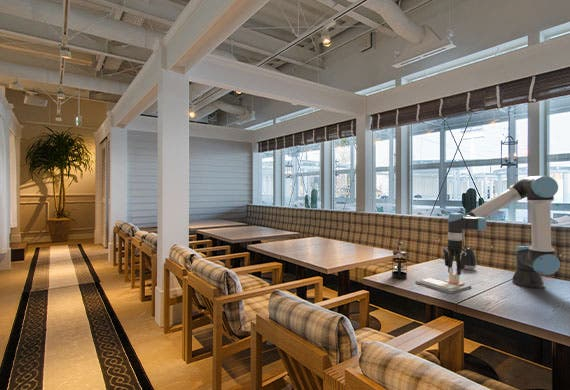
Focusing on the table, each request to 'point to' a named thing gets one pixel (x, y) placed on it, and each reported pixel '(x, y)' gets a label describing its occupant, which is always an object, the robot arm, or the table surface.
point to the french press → (399, 265)
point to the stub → (453, 279)
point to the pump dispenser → (469, 259)
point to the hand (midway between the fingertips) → (454, 279)
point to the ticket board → (442, 285)
